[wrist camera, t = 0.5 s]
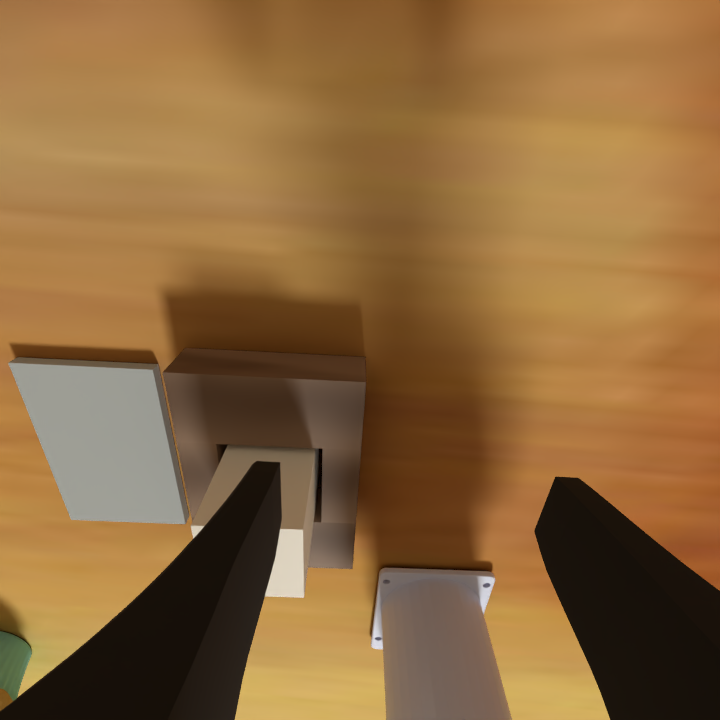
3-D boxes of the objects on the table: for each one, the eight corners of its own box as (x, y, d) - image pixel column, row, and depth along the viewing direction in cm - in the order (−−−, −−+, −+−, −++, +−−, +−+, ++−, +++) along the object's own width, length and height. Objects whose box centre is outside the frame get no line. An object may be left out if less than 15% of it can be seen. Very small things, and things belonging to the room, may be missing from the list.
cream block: (318, 482, 24) (303, 597, 18) (245, 479, 24) (204, 594, 17) (319, 423, 22) (302, 529, 16) (239, 419, 22) (190, 525, 15)
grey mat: (189, 516, 25) (185, 524, 25) (77, 511, 25) (71, 519, 24) (158, 364, 20) (152, 369, 19) (17, 357, 20) (8, 362, 19)
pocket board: (352, 533, 26) (352, 568, 24) (214, 528, 26) (200, 563, 23) (365, 357, 20) (366, 382, 18) (185, 347, 20) (162, 372, 17)
